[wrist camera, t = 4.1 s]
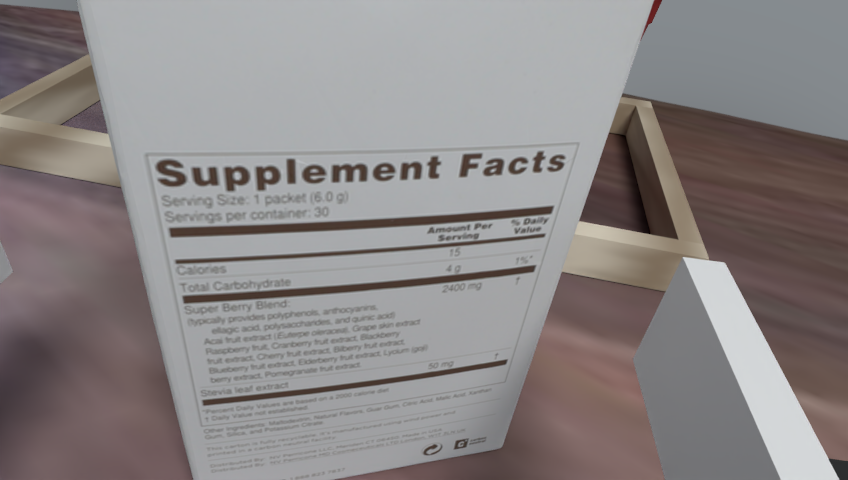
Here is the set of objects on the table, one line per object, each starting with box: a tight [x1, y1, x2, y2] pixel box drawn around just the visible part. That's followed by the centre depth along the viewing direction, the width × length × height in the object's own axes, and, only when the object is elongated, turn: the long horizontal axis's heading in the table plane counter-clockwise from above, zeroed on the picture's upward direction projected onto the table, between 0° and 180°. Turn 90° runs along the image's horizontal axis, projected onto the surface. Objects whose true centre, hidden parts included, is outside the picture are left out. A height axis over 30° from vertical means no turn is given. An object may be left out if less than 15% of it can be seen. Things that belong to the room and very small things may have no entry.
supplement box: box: [76, 0, 654, 480], centre depth 15 cm, size 9×9×15 cm
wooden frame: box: [0, 54, 709, 292], centre depth 31 cm, size 32×16×3 cm, turn 80°
